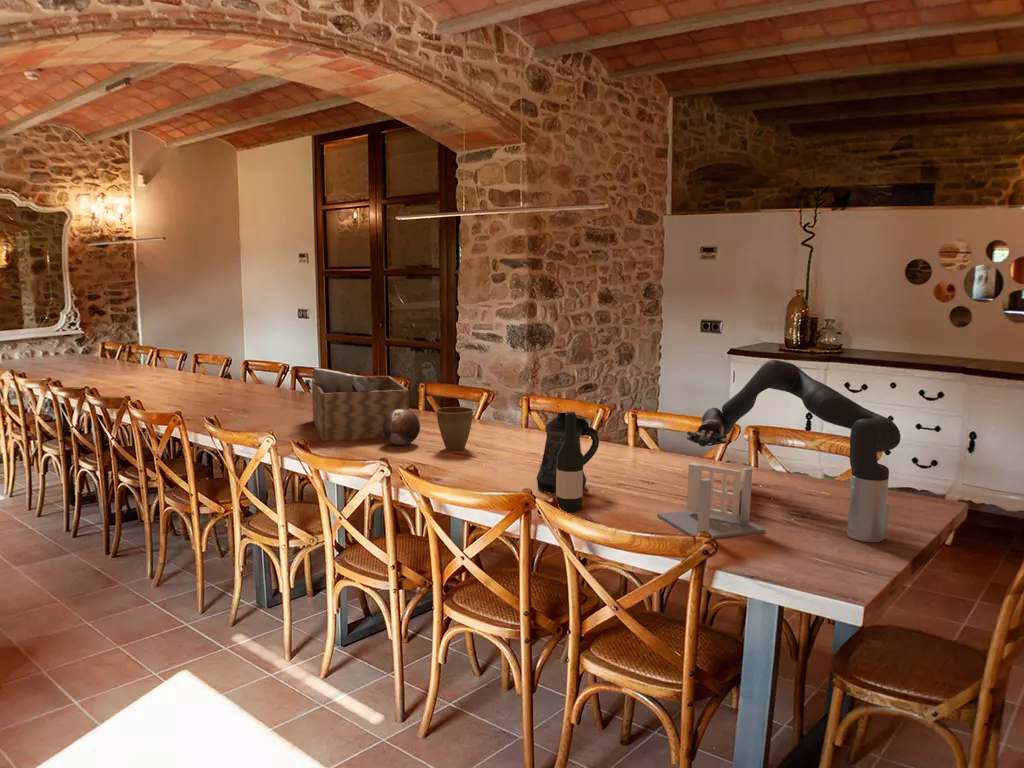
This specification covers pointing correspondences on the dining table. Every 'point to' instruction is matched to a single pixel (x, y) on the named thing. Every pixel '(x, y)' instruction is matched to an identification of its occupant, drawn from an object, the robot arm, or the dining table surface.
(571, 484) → the wine bottle
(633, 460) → the dining table surface
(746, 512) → the gate frame
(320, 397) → the crate
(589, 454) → the beer stein
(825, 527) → the dining table surface
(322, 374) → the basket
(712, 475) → the gate
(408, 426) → the wooden sphere
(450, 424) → the plant pot
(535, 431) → the dining table surface
